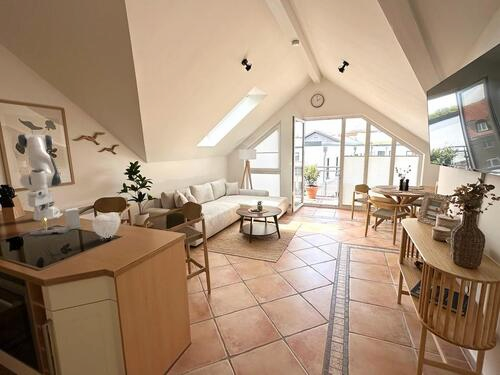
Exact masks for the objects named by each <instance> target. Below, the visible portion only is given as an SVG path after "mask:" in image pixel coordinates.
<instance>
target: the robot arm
mask: <svg viewBox="0 0 500 375" xmlns="http://www.w3.org/2000/svg"><path fill="white" fill-rule="evenodd" d="M16 142H17V144H18V145H19V147H21V148H24V149H26V153H27V155H28V157H29V158H28V159H29V164H30V167H31V168H32V170H31V171H30V174H29V173H28V174H24V175H22V176H21V177H20V179H19V183H20V185H22V187H24V188H26V189H27V190H29V192H27V193H26V195H27V197H28V198H27V201H28V206H29V207H30V208H34V209H33V217H32V220H34V221H41V218H45V217H46V218H47V220H54V219H58V218H60V217H61V216H63V215H64V213H63V212H60V211H61V210H60V209H59V207H57V206H55V205H54V204H56V201H55V200H54V199H53V194H52V193H51V191H50V190H49V187H56V186H57V187H58V186H59V185H60V184H61V183H62V177H61V175H60V173H59V171H58V168H57V166H56V163H55V160H54V158H53V157H52V154H51V155H50V154H49V153H48V152H47V150H49V149H51V148H52V147H53V145H54V138H52V136H51V135H48V134H19V135H18V136H17V139H16Z"/></svg>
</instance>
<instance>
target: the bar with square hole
mask: <svg viewBox="0 0 500 375" xmlns="http://www.w3.org/2000/svg"><path fill="white" fill-rule="evenodd" d="M69 229H70V228H69V227H67V226H56V227H55V226H54V227H48V228H46V229H44V230H42V229H35V230H32V231H30V232H29V233H28V236H38V235H42V236H43V235H52V234H54V233H57V234H60V233H62V234H66V233H68V232H70V230H69Z"/></svg>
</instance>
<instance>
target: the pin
mask: <svg viewBox="0 0 500 375" xmlns="http://www.w3.org/2000/svg"><path fill="white" fill-rule="evenodd" d="M40 223H41V230H44V229H46V228H49V227H48V221H47V218H46V217H45V218H41V220H40Z"/></svg>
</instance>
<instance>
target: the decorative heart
mask: <svg viewBox="0 0 500 375" xmlns="http://www.w3.org/2000/svg"><path fill="white" fill-rule="evenodd" d="M91 224H92V229H93V231H94V233H96V235H98V236H99V237H100V240H101V239H102V240H103V239H104V238H105V239H106V238H109V237H110V236H111V238H113V237H114V236H115V234H116V232H118V229H119V228H120V224H121V216H120V215H119V214H118V213H117V212H114V211H113V212H108V213H106V214H105V215H104V214H100V215H99V214H98V215H97V216H95V217H94V218H93V220H92V222H91ZM113 235H114V236H113Z"/></svg>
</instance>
